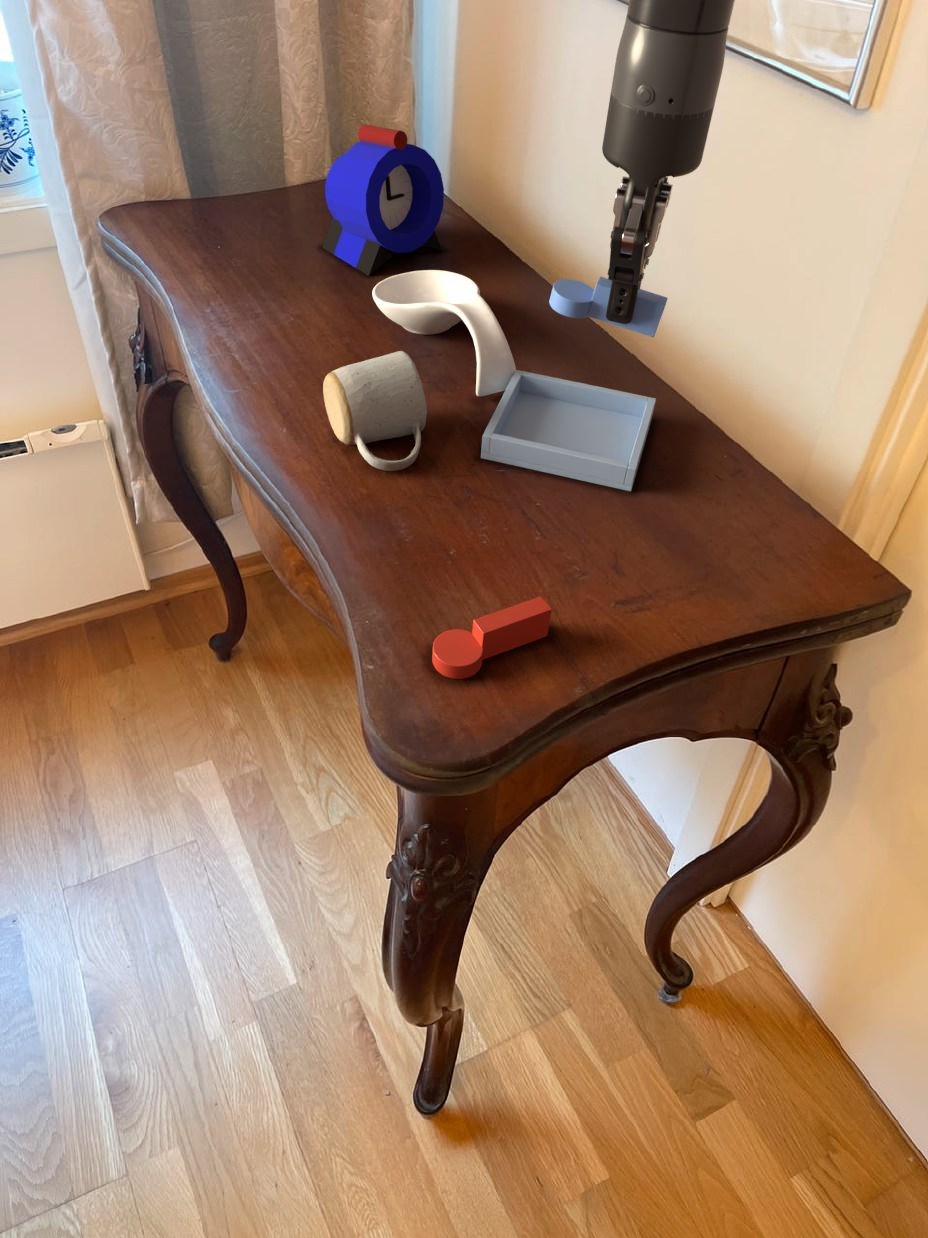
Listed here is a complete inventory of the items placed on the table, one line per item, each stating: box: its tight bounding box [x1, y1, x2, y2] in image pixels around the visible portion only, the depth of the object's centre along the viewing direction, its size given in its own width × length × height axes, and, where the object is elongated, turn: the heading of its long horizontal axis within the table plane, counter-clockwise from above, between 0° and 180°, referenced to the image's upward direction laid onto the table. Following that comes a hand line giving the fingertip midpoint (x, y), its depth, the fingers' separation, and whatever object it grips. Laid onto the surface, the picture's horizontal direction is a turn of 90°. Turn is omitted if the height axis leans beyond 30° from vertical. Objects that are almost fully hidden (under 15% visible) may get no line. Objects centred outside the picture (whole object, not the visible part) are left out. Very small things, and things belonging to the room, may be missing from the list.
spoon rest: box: [371, 269, 517, 397], centre depth 101 cm, size 24×12×7 cm, turn 28°
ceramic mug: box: [322, 350, 428, 472], centre depth 87 cm, size 11×8×8 cm
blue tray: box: [480, 369, 657, 492], centre depth 91 cm, size 15×13×3 cm
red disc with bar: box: [431, 596, 553, 680], centre depth 71 cm, size 10×4×3 cm, turn 118°
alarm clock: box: [322, 124, 445, 277], centre depth 115 cm, size 12×12×15 cm
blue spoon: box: [548, 276, 669, 338], centre depth 79 cm, size 10×4×3 cm, turn 73°
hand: (620, 314), depth 80 cm, fingers closed on blue spoon, 1 cm apart
